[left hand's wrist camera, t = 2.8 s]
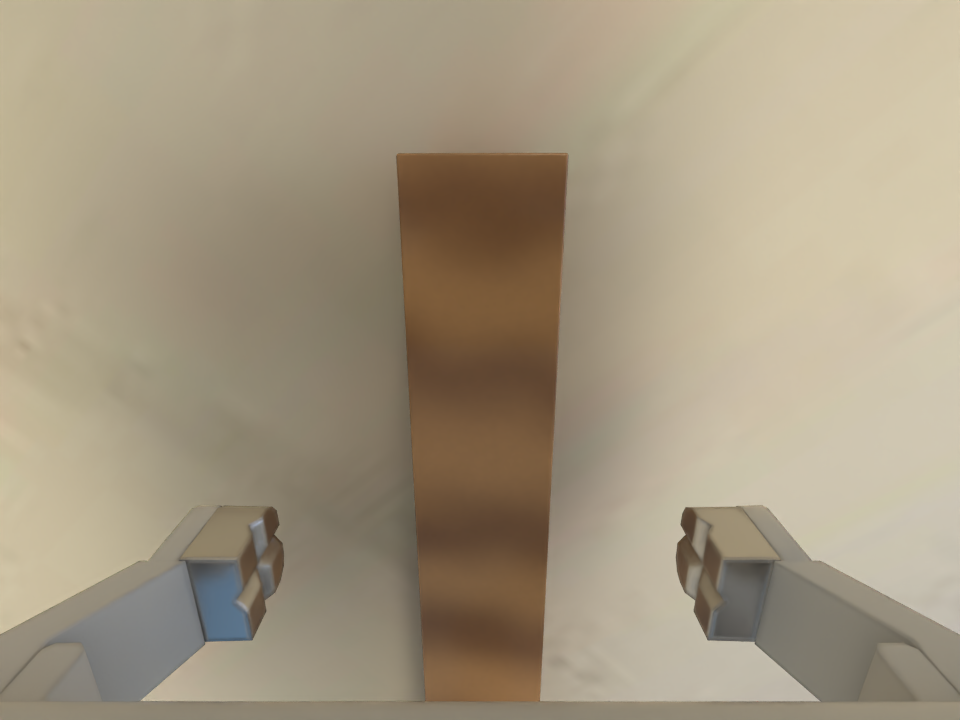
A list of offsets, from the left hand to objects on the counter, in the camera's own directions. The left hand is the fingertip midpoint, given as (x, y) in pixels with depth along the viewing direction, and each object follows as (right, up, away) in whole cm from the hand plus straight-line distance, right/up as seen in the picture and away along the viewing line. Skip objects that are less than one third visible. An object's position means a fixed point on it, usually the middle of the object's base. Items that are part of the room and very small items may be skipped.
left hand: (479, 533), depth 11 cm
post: (0, -20, +22) cm, 30 cm away
